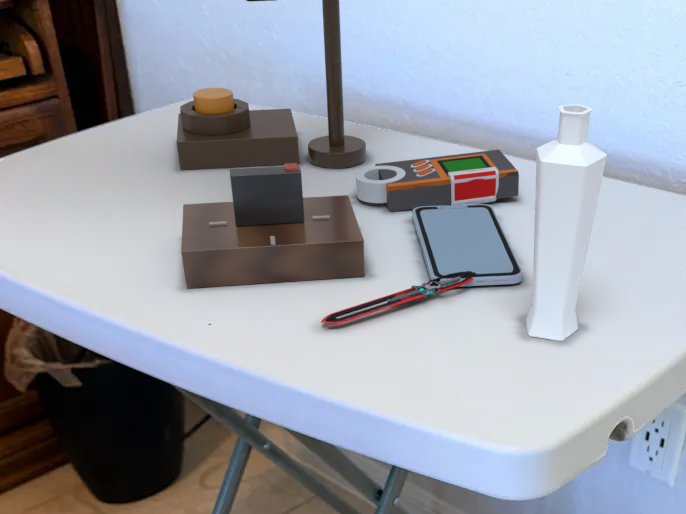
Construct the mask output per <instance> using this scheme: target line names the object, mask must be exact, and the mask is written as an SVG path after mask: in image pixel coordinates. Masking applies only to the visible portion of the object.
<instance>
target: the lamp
mask: <svg viewBox="0 0 686 514" xmlns="http://www.w3.org/2000/svg"><path fill="white" fill-rule="evenodd" d="M321 4H322V6H321V7H322V24H323V25H322V26H323V45H324V68H325V69H324V70H325V84H326V85H325V86H326V87H325V90H326V108H327V109H326V111H327V131H328V135H324V136H319V137H315V138H313V139H311V140H310V141H308V143H307V156H308V162H310V164H312V165H313V166H317V167H320V168H327V169H346V168H353V167H356V166H359V165H361V164H363V163H365V161H366V160H367V143H366V141H365V140H364V139H362V138H360V137H357V136H353V135H345V118H344V117H345V116H344V92H343V91H344V90H343V89H344V88H343V62H342V40H341V39H342V38H341V37H342V35H341V13H340V12H341V10H340V0H321Z"/></svg>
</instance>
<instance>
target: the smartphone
mask: <svg viewBox="0 0 686 514" xmlns="http://www.w3.org/2000/svg"><path fill="white" fill-rule="evenodd" d="M412 221H413V224H414V228H415V231H416V235H417V239H418V241H419V244H420V248H421V252H422V255H423V259H424V262H425V266H426V270H427V273H428V275H429V279H430V280H433V279H436V278H439V277H442V276H445V275H448V274H452V273H457V272H466V271H471V272H475V273H476V274H475V275H473V276H472V277H473V280H471V281H470V282H468V283H466V284H464V285H462V286H459V287H460V288H461V287H481V286H483V287H484V286H499V285H500V286H501V285H503V286H504V285H515V284H518V283H521V282H522V280H523V274H524V273H523V272H524V270H523V268H522V266H521V263H520V261H519V259H518V257H517V255H516V253H515V251H514V249H513V247H512V245H511V243H510V240H509V238H508V236H507V233H506V232H505V229H504V227H503V225H502V224H501V221H500V219H499V217H498V215H497V213H496V210H495V209H494V207H493V205H490V204H486V203H478V204H469V205H451V204H449V205H441V206H422V207H417V208H415V209H412ZM456 277H459V275H457V276H450V277H446V278H443V279H440V281H439V282H438V283H440V282H444V281H447V280H450V279H453V278H456ZM464 279H465V278H463V279H460V281H457V282H454V283H450V284H447V285H444V286H441V287H446V286H449V285H452V284H455V283H458V282H461V281H463V280H464ZM459 287H458V288H459Z"/></svg>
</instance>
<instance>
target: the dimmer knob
mask: <svg viewBox="0 0 686 514" xmlns="http://www.w3.org/2000/svg"><path fill="white" fill-rule="evenodd" d="M302 179H303V178H302V171H301V166H300V165H299V164H297V163H287V164H284V165H283V166H265V167H264V166H262V167H247V168H246V167H245V168H244V167H243V168H230V169H229V181H230V186H231V187H230V188H231V196H232V202H233V205H234V214H235V223H236V226H247V225H264V224H281V223H298V222H304V206H303V198H304V194H303V193H304V192H303V180H302Z"/></svg>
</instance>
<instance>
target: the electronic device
mask: <svg viewBox="0 0 686 514" xmlns="http://www.w3.org/2000/svg"><path fill="white" fill-rule="evenodd" d="M519 183H520V173H519V170H518V169H517V168H516V167H515V165H514V164H513V163H512V162H511V161H510V160H509V159H508V158H507V157H506V155H505V154H503V152H502V151H501V149H492V150H484V151H476V152H475V151H474V152H466V153H458V154H450V155H449V154H448V155H441V156H440V155H439V156H433V157H424V158H415V159H414V158H413V159H407V160H398V161H390V162H381V163H375V165H374V166H368V167H365V168H362V169H360V170H359V171H357V172H356V173H355V189H356V198H358V199H359V200H360V201H362V202H365V203H369V204H370V203H371V204H385V205H386V208H387V210H388V211H389V213H390V212H401V211H408V210H413V209H415V208H417V207H422V206H444V205H469V204H486V203H493V202H496V201H497V200H498V199H504V198H505V199H506V198H512V197H518V196H519V187H520V186H519Z"/></svg>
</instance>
